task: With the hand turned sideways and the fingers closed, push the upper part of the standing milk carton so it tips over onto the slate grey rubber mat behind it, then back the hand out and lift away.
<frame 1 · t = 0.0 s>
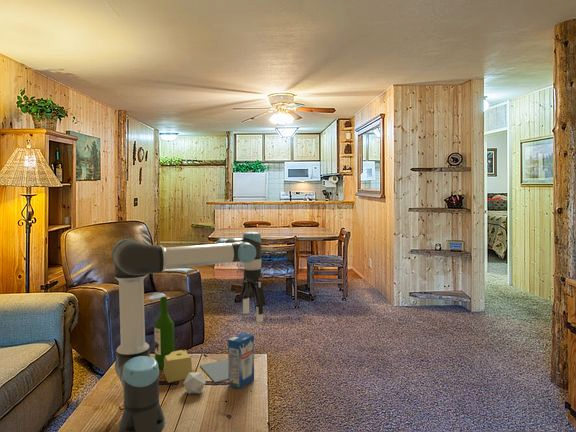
hand: (252, 317, 185), 28 cm above the table, tool pointing down, fingers open, 13 cm apart
slate mat: (225, 369, 198), on the table
die: (194, 392, 177), on the table
cheese: (177, 377, 192), on the table
wine bottle: (165, 366, 203), on the table
milk carton: (241, 383, 185), on the table
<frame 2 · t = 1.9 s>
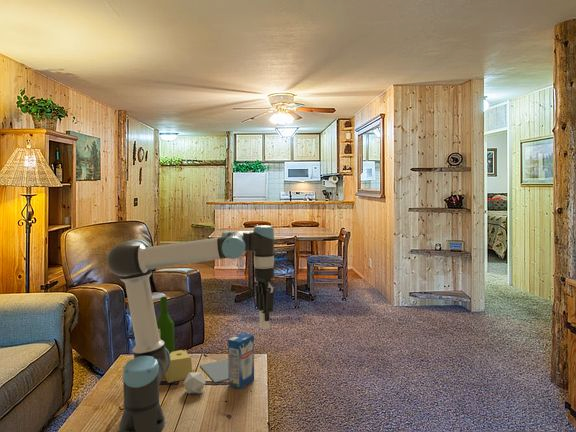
hand: (264, 327, 164), 30 cm above the table, tool pointing down, fingers closed
nothing on the table moved.
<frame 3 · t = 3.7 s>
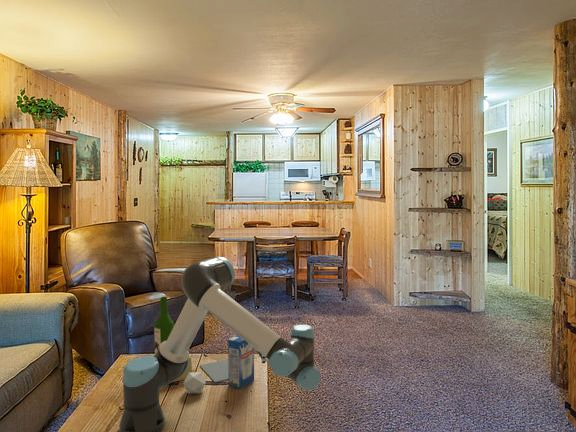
hand: (258, 342, 170), 23 cm above the table, tool horizontal, fingers closed
nothing on the table moved.
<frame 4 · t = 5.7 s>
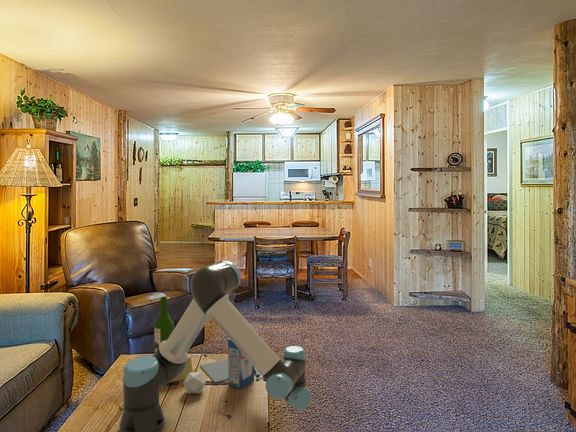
hand: (252, 359, 176), 14 cm above the table, tool horizontal, fingers closed
nothing on the table moved.
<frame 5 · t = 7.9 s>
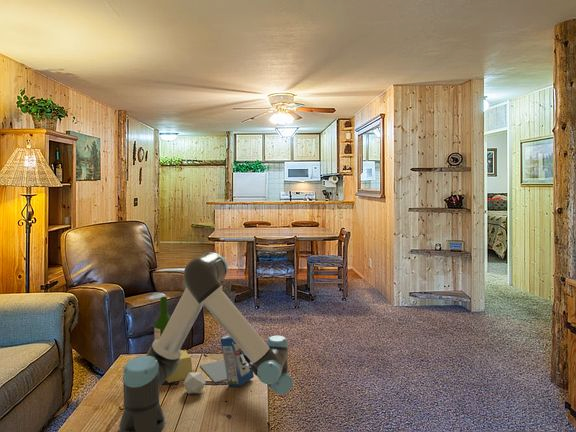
hand: (240, 349, 186), 14 cm above the table, tool horizontal, fingers closed
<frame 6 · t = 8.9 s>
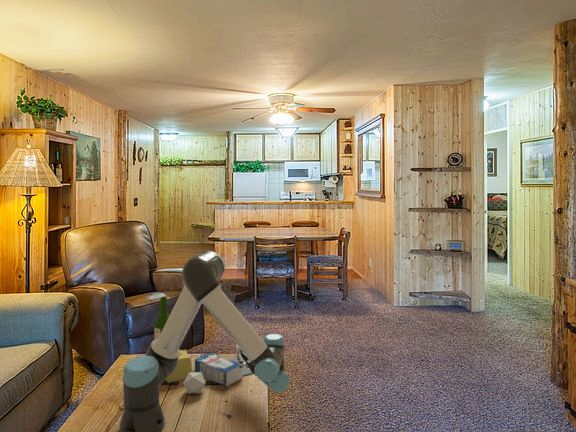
hand: (237, 348, 187), 14 cm above the table, tool horizontal, fingers closed
milk carton: (234, 375, 185), point 3 cm above the table, touching slate mat
everything else where it was.
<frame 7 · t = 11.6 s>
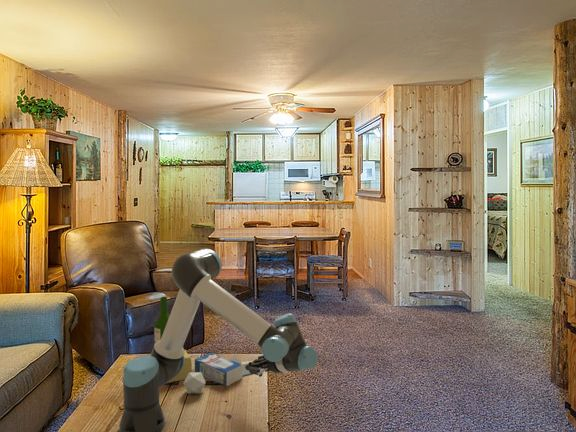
hand: (243, 366, 170), 13 cm above the table, tool tilted 70°, fingers closed
nothing on the table moved.
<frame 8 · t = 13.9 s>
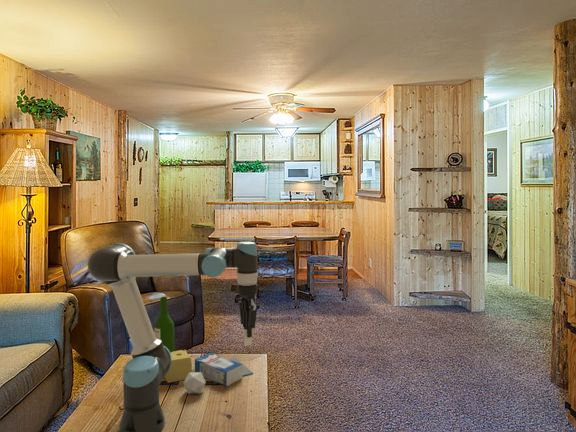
hand: (248, 344, 163), 24 cm above the table, tool pointing down, fingers closed
nothing on the table moved.
at the end: milk carton tilted 88°; milk carton touching slate mat, table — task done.
